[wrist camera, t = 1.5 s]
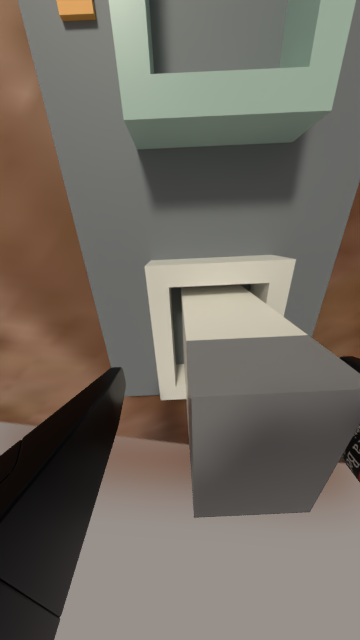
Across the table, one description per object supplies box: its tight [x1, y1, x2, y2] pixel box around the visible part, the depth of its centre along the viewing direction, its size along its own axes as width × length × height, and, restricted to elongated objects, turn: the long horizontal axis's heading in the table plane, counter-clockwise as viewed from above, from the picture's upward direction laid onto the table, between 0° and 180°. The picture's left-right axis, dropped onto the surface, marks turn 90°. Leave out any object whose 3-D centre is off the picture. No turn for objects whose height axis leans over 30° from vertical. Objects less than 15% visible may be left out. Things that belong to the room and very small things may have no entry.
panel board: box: [18, 0, 360, 396], centre depth 10 cm, size 14×24×2 cm, turn 2°
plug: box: [181, 285, 360, 517], centre depth 8 cm, size 4×5×8 cm
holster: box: [145, 255, 296, 400], centre depth 11 cm, size 7×8×2 cm
